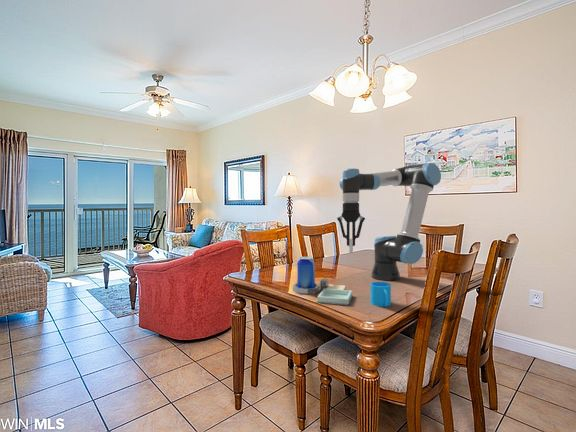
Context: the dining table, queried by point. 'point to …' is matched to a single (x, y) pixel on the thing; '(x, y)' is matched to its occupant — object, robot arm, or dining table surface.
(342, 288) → the plate
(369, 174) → the robot arm
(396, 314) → the dining table surface
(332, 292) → the tray
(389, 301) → the mug
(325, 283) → the dog
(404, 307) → the dining table surface
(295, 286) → the collar
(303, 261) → the blue bottle
